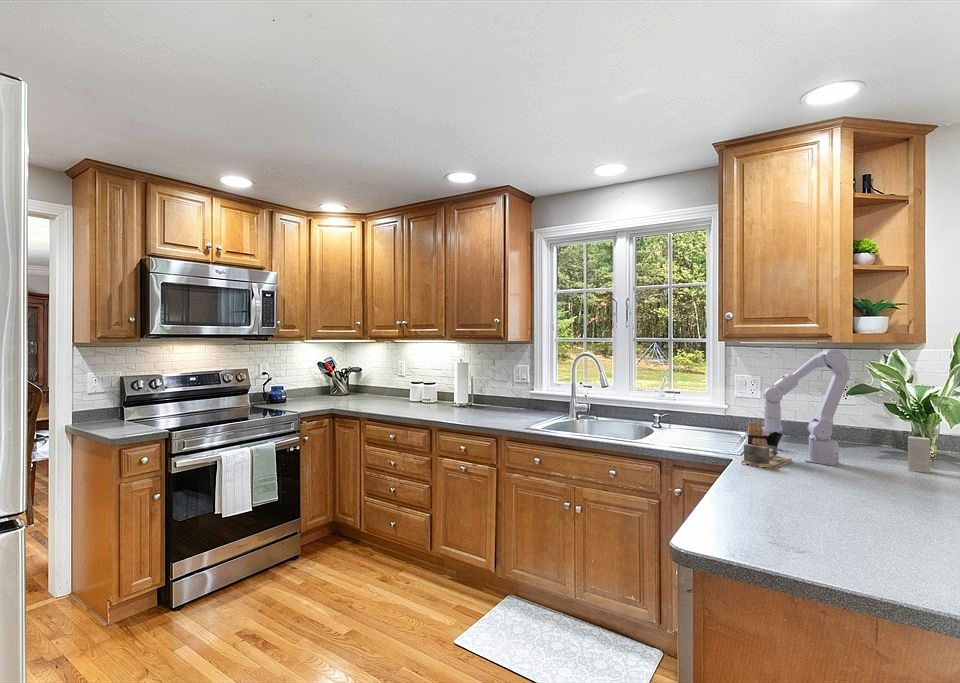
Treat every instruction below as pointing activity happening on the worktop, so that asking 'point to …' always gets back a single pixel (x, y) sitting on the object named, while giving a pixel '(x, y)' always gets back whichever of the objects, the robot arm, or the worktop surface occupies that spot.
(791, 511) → the worktop surface
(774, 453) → the gauge ram
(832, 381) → the robot arm
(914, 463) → the skincare box
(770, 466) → the gauge bench
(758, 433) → the ammunition clip
